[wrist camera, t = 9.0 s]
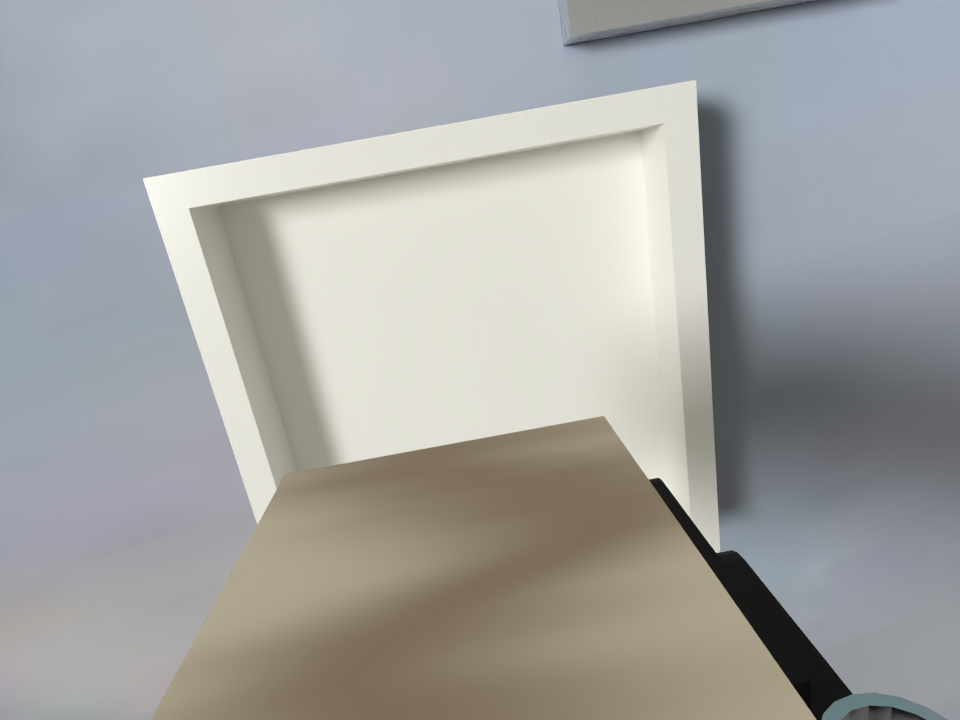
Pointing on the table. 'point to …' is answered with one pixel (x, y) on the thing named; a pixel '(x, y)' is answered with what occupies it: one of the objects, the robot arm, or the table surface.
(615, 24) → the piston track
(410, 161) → the tray
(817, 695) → the robot arm
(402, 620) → the wooden block
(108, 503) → the table surface
